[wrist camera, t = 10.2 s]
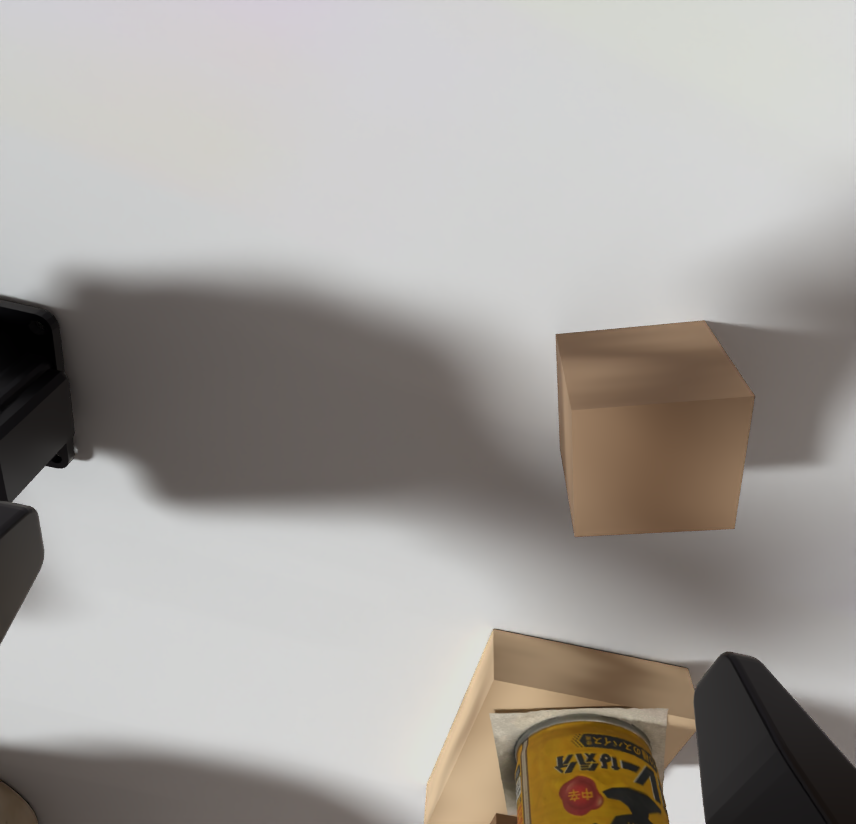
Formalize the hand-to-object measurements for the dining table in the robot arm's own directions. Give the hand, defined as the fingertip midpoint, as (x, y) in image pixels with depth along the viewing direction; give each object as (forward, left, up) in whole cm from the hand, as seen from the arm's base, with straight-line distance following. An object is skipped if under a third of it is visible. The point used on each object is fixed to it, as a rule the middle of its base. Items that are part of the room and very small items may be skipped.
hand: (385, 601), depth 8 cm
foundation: (+10, -23, -13) cm, 28 cm away
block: (+7, -3, -13) cm, 15 cm away
